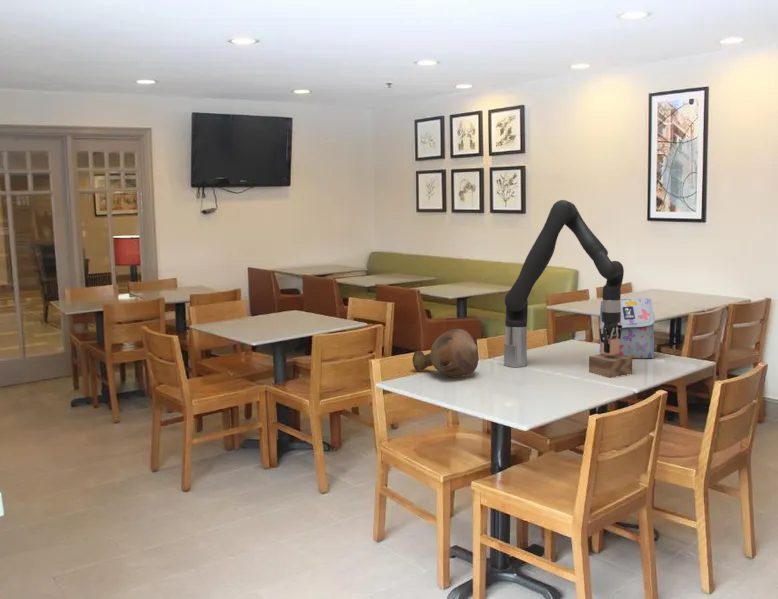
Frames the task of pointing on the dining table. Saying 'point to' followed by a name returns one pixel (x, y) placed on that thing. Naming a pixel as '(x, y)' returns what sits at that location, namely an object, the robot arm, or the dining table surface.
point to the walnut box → (610, 365)
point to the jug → (450, 354)
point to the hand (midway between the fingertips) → (610, 351)
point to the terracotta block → (612, 346)
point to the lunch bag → (635, 328)
